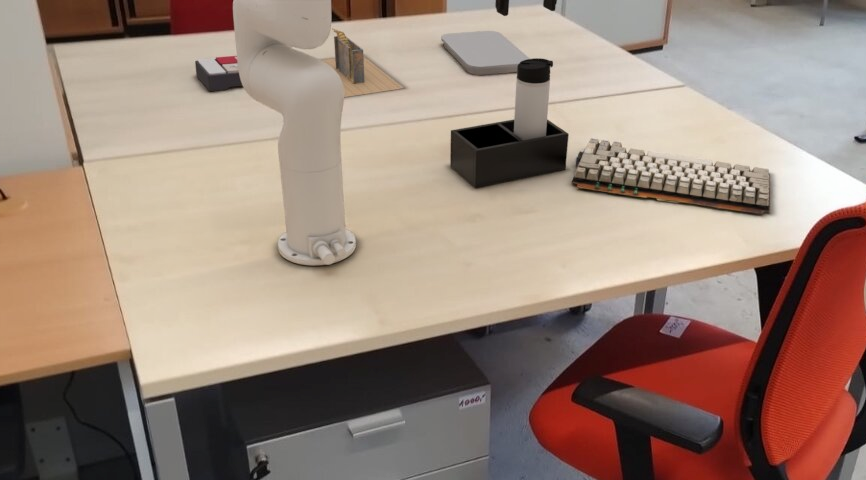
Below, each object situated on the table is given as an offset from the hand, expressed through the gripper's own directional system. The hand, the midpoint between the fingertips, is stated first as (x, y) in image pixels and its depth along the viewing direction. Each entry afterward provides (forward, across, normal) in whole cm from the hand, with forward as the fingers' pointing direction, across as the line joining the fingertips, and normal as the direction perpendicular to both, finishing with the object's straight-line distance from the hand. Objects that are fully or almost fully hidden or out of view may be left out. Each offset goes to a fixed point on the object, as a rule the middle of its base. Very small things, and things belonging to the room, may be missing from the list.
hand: (525, 11), depth 168 cm
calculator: (+30, -36, +66) cm, 81 cm away
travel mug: (+29, +3, 0) cm, 29 cm away
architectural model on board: (+30, -11, +59) cm, 67 cm away
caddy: (+30, -2, 0) cm, 30 cm away
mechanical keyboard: (+30, +24, -18) cm, 42 cm away
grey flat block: (+29, +25, +60) cm, 71 cm away
